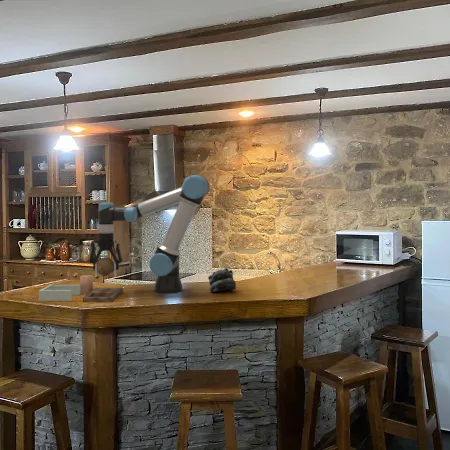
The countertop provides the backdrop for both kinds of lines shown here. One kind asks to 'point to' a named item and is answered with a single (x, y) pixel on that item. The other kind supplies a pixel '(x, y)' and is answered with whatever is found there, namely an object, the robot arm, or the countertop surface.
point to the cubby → (59, 292)
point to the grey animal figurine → (222, 280)
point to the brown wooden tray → (103, 295)
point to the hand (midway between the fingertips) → (106, 276)
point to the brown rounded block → (86, 284)
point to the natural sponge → (105, 266)
